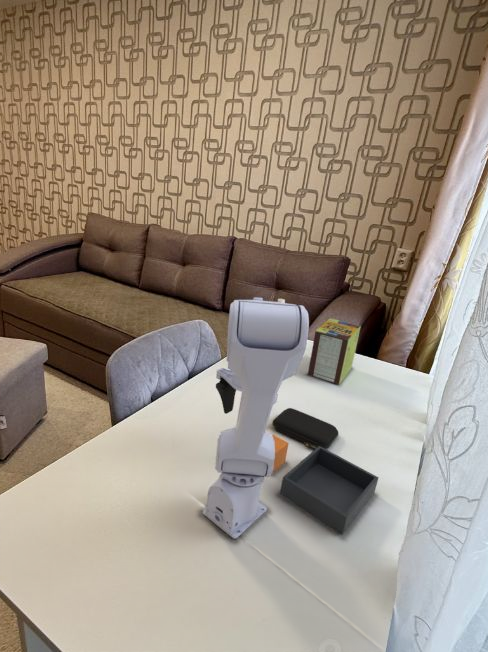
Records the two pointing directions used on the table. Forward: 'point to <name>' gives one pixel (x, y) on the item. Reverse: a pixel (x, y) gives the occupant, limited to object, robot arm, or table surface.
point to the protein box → (333, 350)
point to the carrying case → (305, 428)
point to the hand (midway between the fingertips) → (241, 419)
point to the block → (279, 452)
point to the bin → (329, 488)
